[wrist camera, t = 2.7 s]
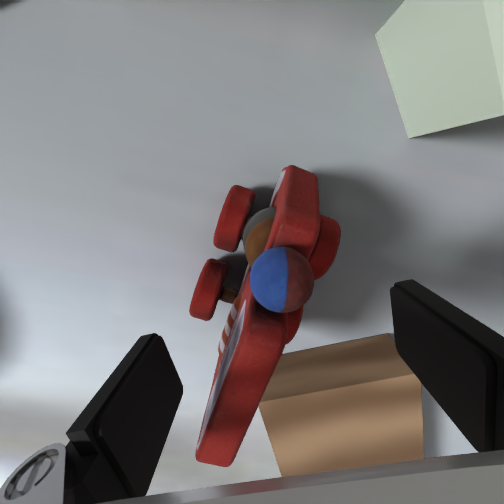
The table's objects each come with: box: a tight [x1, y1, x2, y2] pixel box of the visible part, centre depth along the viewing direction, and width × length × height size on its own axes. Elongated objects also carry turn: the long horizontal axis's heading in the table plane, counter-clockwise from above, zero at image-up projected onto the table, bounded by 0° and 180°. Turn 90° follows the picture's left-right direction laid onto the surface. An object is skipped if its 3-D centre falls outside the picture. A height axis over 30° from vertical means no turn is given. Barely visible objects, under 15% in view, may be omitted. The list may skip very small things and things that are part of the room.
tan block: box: [258, 334, 424, 477], centre depth 20 cm, size 16×11×4 cm
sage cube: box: [375, 0, 504, 138], centre depth 10 cm, size 6×6×6 cm
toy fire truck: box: [189, 165, 341, 467], centre depth 12 cm, size 7×12×10 cm, turn 160°
